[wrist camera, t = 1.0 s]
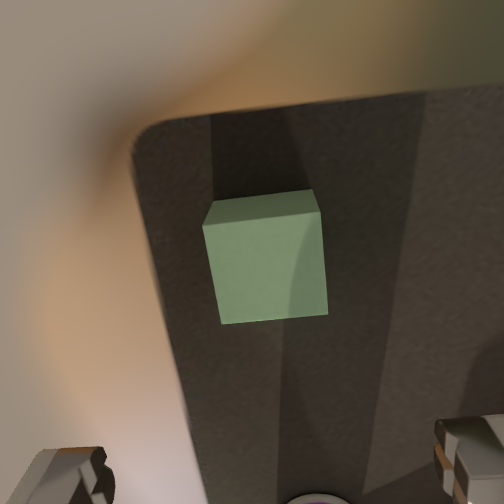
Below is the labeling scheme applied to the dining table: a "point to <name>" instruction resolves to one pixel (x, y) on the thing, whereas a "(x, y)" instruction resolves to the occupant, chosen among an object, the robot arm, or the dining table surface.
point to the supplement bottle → (317, 499)
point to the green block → (267, 256)
